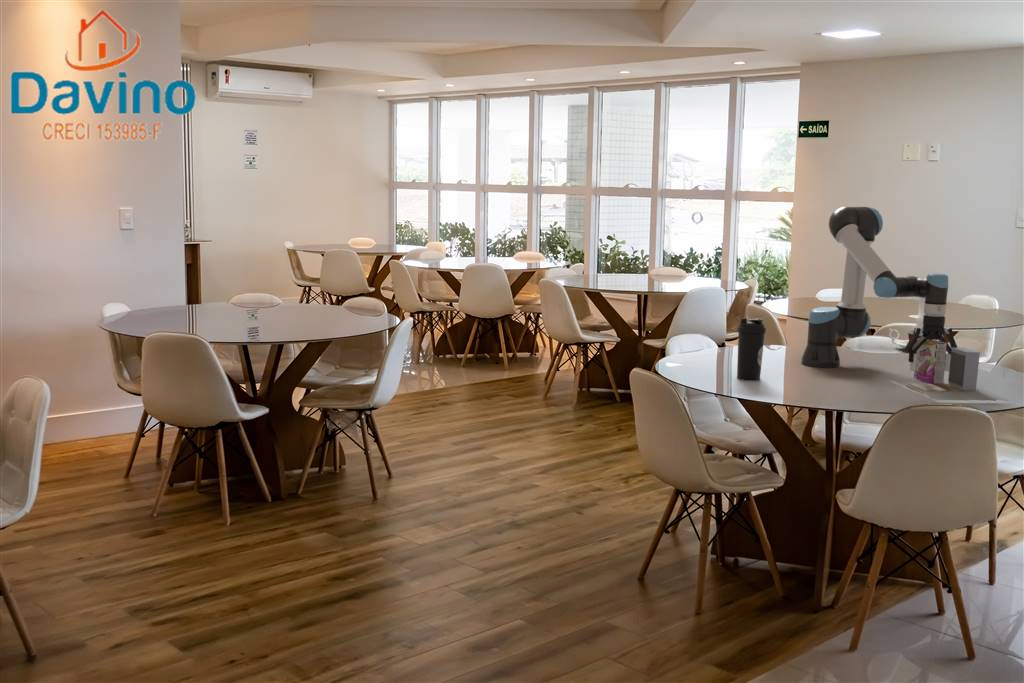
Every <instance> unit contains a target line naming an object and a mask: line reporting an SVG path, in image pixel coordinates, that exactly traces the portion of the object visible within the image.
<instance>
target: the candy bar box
mask: <svg viewBox="0 0 1024 683" xmlns="http://www.w3.org/2000/svg"><path fill="white" fill-rule="evenodd" d="M919 339H920V338H918V339H917V341H918V340H919ZM947 343H948V342H947ZM947 343H945V342H941V341H939V340H927V341H925V342H924V343H923V345H922V346H921V347H920V348H919V349H918V350H917V351H916V354H917V356H916V368H915V371H913V372H914V374H913V378H914V379H916V380H920V381H924V382H927V383H928V384H944V382H945V381H944V379H945V378H944V377H945V359H946V353H947V351H946V349H947Z"/></svg>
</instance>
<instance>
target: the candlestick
mask: <svg viewBox="0 0 1024 683" xmlns="http://www.w3.org/2000/svg"><path fill="white" fill-rule="evenodd" d="M924 306H925V298H922V297H918V314H913V315H912V314H911V315H910V314H909V315H908V317H909V318H911V319H914V320H916V324H915V326H914V328H915V327H917V328H923V317H924V315H925V314H924ZM914 328H913V329H914ZM888 330H889V333H888V337H889V338H890V339H891V342H892V344H894V345H898V346H900V347H901V348H903V349H905V347H906V345H907V344H908V342H909V339H907V340H906V339H904V340H903V339H902V340H897V339H898V338H899V337H900V332H899V331H898V330H897V329H892V328H888ZM892 332H896V337H893V336H892Z"/></svg>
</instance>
